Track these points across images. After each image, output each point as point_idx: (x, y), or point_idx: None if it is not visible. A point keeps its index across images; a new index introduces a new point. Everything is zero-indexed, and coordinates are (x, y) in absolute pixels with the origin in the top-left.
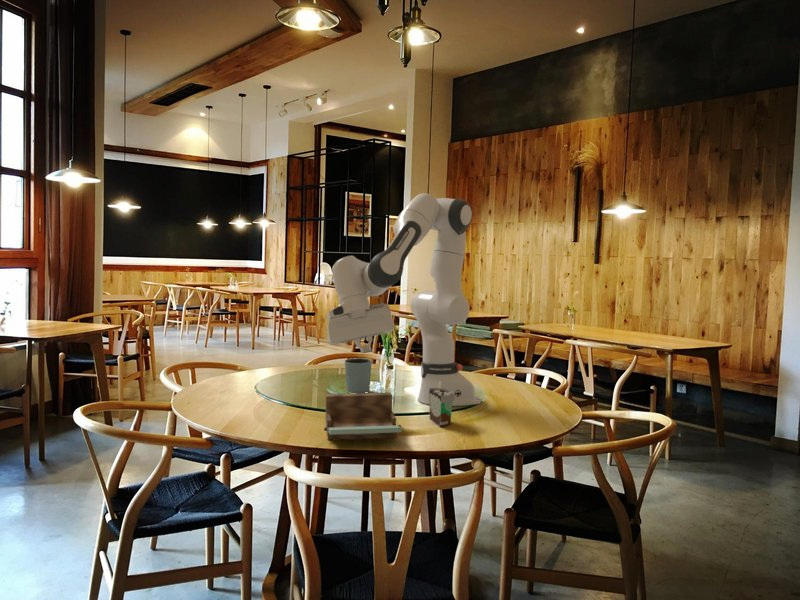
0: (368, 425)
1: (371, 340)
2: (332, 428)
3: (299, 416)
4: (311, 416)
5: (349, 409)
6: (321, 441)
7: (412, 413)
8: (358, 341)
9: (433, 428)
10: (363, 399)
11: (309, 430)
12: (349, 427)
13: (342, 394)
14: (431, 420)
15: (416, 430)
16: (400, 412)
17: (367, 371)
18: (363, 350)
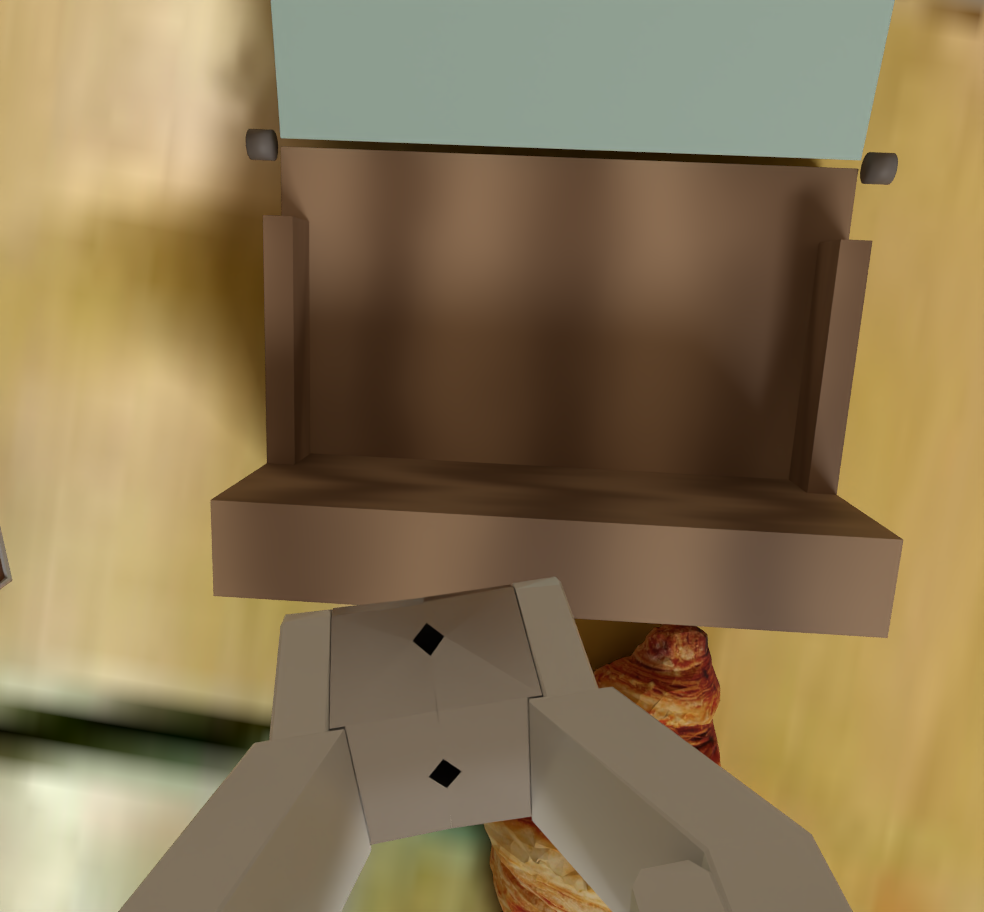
0: (504, 245)
1: (154, 890)
2: (856, 37)
3: (925, 809)
4: (839, 795)
5: (635, 488)
6: None
7: (115, 745)
8: (719, 860)
9: (12, 354)
10: (508, 505)
11: (916, 452)
12: (692, 94)
13: (716, 597)
14: (2, 545)
15: (140, 324)
16: (196, 783)
17: None
18: (522, 608)
